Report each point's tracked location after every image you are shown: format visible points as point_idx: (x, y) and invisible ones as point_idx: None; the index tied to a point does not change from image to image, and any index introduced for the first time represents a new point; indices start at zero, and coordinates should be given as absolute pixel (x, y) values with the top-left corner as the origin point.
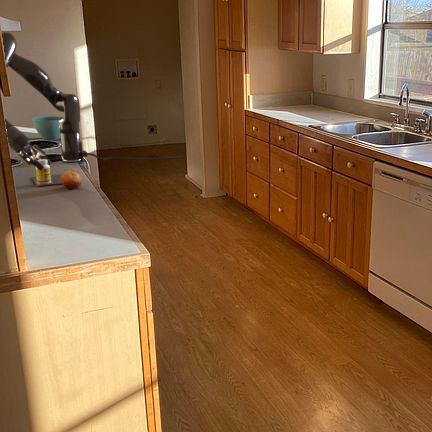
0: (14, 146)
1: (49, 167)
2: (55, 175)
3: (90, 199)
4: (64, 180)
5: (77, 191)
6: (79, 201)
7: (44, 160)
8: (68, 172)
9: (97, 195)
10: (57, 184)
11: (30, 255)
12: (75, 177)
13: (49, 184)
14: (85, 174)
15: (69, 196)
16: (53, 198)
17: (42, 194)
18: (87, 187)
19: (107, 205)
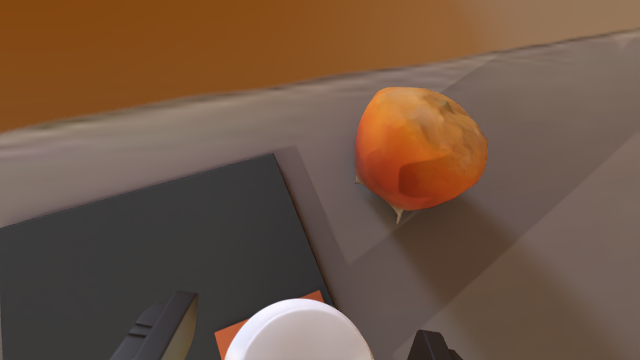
0: None
1: (301, 299)
2: (16, 338)
3: (571, 82)
4: (484, 168)
5: None
6: (611, 118)
7: (332, 339)
8: (452, 122)
9: (509, 61)
10: (317, 266)
11: None
12: (455, 103)
13: None
14: (41, 130)
15: (551, 164)
16: (605, 233)
17: (551, 314)
18: None
19: (623, 33)
